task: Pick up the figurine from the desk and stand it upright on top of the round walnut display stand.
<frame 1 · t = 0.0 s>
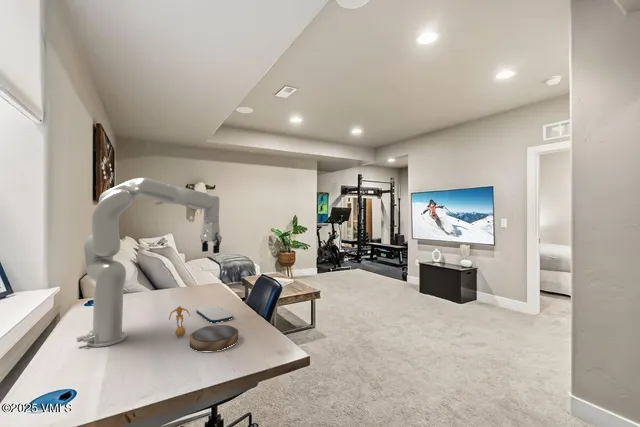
hand: (210, 252, 153), 31 cm above the table, tool pointing down, fingers open, 9 cm apart
figurine: (179, 336, 123), on the table
walnut stand: (214, 342, 117), on the table
external hard drive: (214, 316, 149), on the table
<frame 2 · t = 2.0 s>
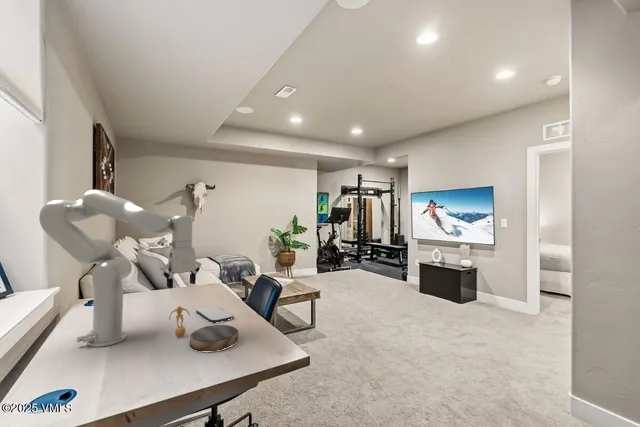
hand: (181, 285, 123), 21 cm above the table, tool pointing down, fingers open, 9 cm apart
nothing on the table moved.
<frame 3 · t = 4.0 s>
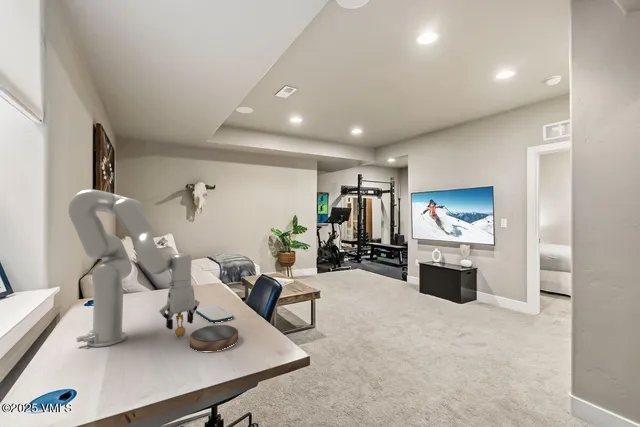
hand: (180, 325, 123), 4 cm above the table, tool pointing down, fingers closed on figurine, 8 cm apart
figurine: (179, 336, 123), on the table, touching gripper
everything else where it was.
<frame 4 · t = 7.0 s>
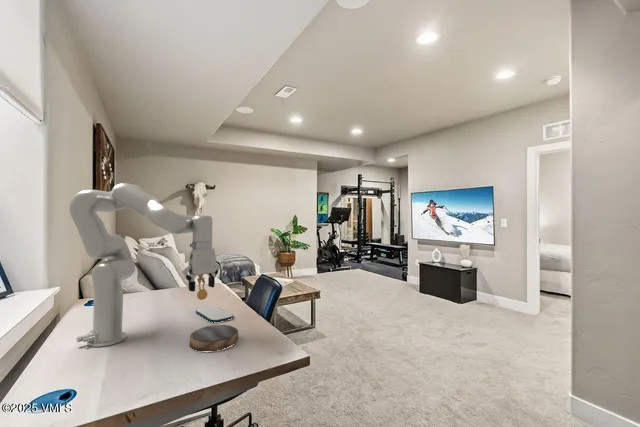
hand: (201, 288, 120), 20 cm above the table, tool pointing down, fingers closed on figurine, 8 cm apart
figurine: (201, 299, 119), point 16 cm above the table, touching gripper
everything else where it was.
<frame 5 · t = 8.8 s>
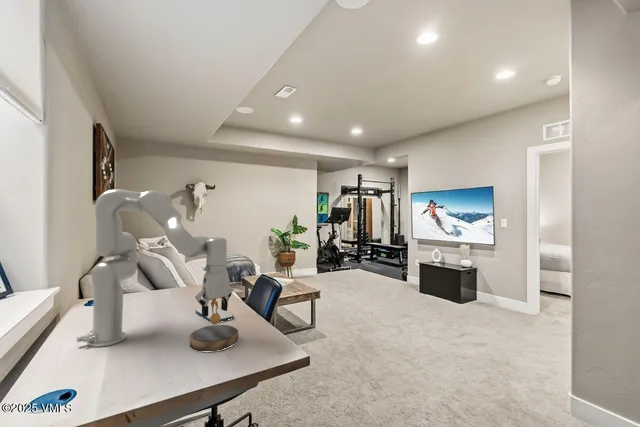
hand: (214, 312, 117), 12 cm above the table, tool pointing down, fingers closed on figurine, 8 cm apart
figurine: (214, 323, 117), point 7 cm above the table, touching gripper
everything else where it was.
when the fingers open (8 cm above the table, at t = 10.4 s): figurine stays where it is, resting on walnut stand.
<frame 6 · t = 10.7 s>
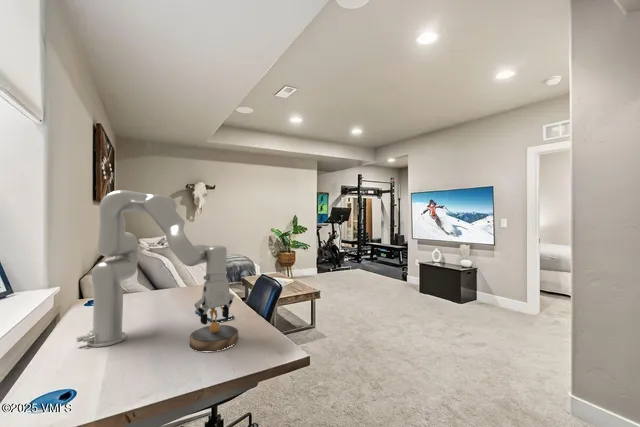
hand: (215, 320, 117), 9 cm above the table, tool pointing down, fingers open, 9 cm apart
figurine: (213, 332, 117), point 4 cm above the table, touching walnut stand
everything else where it was.
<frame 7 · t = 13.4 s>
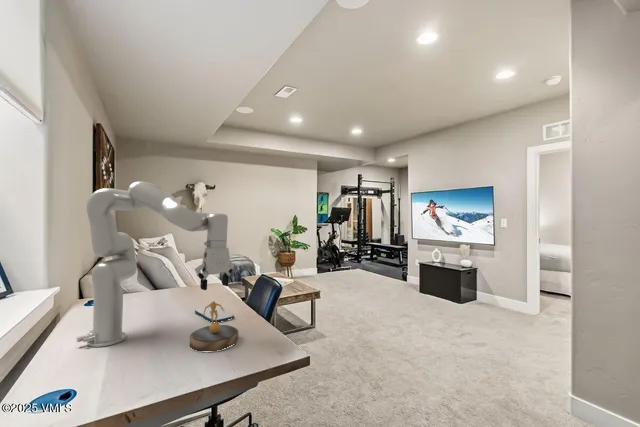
hand: (214, 287, 117), 22 cm above the table, tool pointing down, fingers open, 9 cm apart
nothing on the table moved.
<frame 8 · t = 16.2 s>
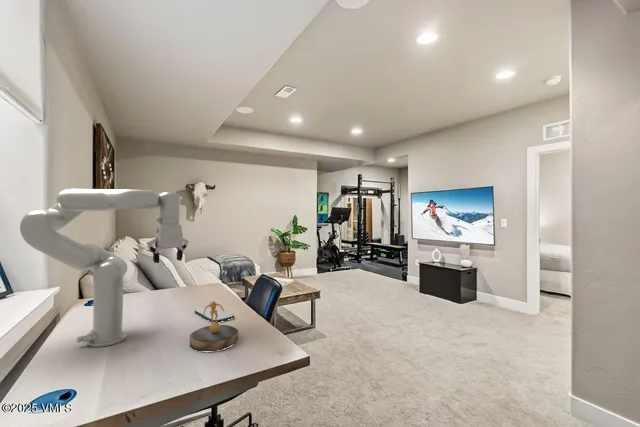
hand: (168, 261, 126), 30 cm above the table, tool pointing down, fingers open, 9 cm apart
nothing on the table moved.
at the end: figurine inside the target area on the walnut stand (0.4 cm from its centre), point 3.8 cm above the walnut stand's base; figurine tilted 0°; the gripper is holding nothing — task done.
